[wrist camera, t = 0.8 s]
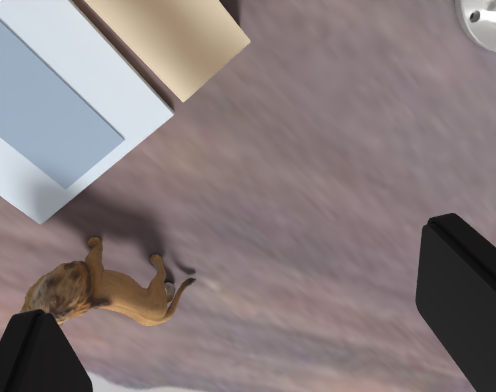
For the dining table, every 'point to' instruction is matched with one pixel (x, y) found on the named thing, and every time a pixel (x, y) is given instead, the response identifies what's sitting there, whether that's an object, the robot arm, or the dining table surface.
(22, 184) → the board
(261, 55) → the dining table surface
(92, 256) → the lion figurine
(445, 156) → the dining table surface
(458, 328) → the robot arm
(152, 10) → the oak block
